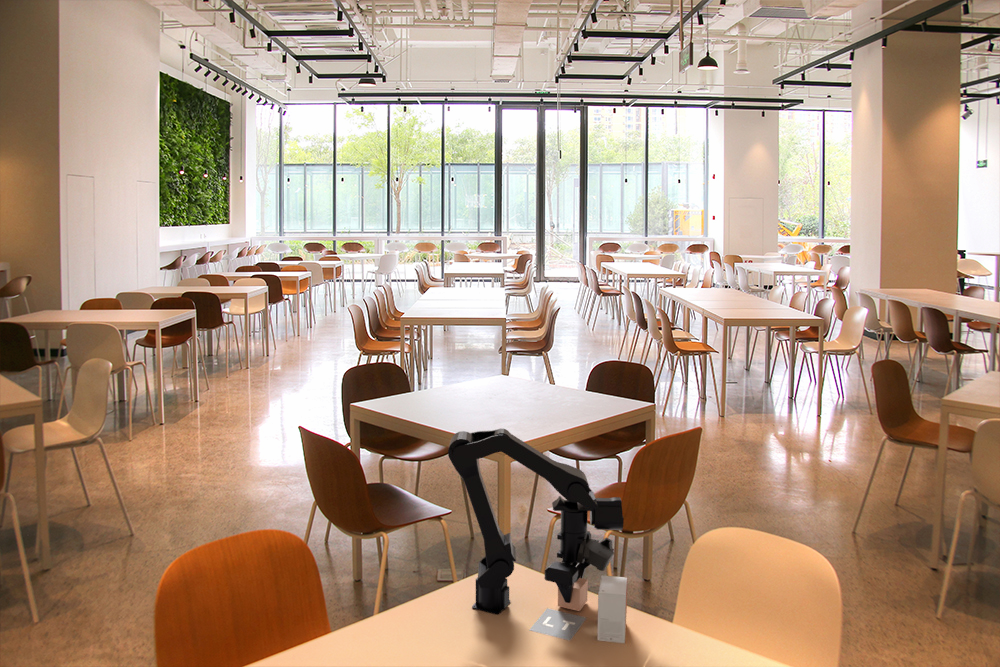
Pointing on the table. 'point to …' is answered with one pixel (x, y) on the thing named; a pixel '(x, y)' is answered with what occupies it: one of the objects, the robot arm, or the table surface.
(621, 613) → the small box
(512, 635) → the table surface
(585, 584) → the block
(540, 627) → the tile
